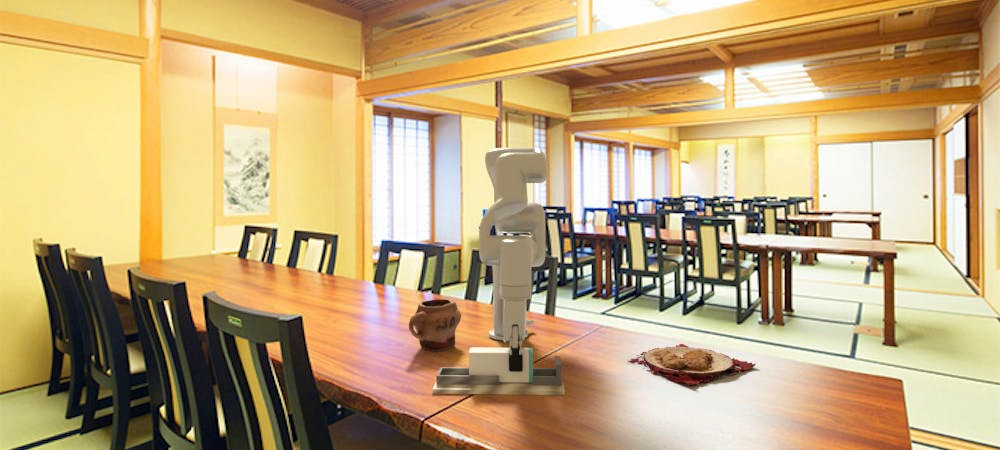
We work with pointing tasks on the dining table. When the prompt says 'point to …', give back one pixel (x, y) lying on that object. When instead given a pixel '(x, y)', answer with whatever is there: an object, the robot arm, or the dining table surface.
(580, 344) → the dining table surface
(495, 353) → the white teal block
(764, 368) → the dining table surface
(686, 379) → the plate with food
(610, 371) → the dining table surface
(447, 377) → the base
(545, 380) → the socket
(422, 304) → the brown clay mug
